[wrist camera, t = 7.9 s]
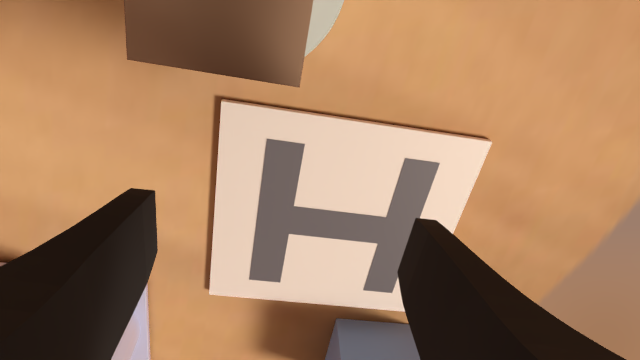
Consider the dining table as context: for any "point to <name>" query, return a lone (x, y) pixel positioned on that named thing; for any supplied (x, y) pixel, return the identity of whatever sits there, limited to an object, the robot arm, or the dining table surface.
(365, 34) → the dining table surface
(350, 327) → the blue cube
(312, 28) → the saucer
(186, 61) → the walnut block
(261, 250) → the letter card
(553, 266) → the dining table surface
